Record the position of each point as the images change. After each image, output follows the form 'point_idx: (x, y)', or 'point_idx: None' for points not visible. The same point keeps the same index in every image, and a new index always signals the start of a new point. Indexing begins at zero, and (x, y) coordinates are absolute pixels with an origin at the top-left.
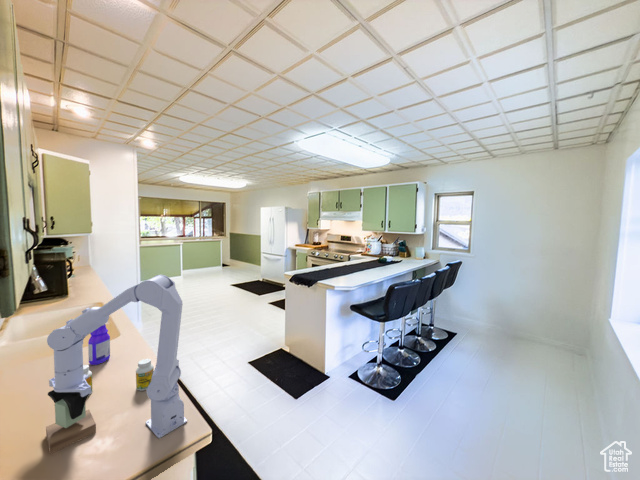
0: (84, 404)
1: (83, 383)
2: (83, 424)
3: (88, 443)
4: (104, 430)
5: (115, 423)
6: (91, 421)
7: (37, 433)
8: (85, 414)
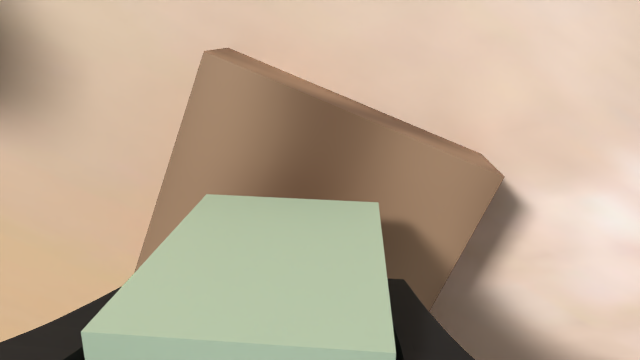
0: (451, 337)
1: None
2: (392, 212)
3: (537, 244)
4: (533, 117)
5: (554, 24)
6: (428, 167)
7: (67, 276)
8: (377, 211)
